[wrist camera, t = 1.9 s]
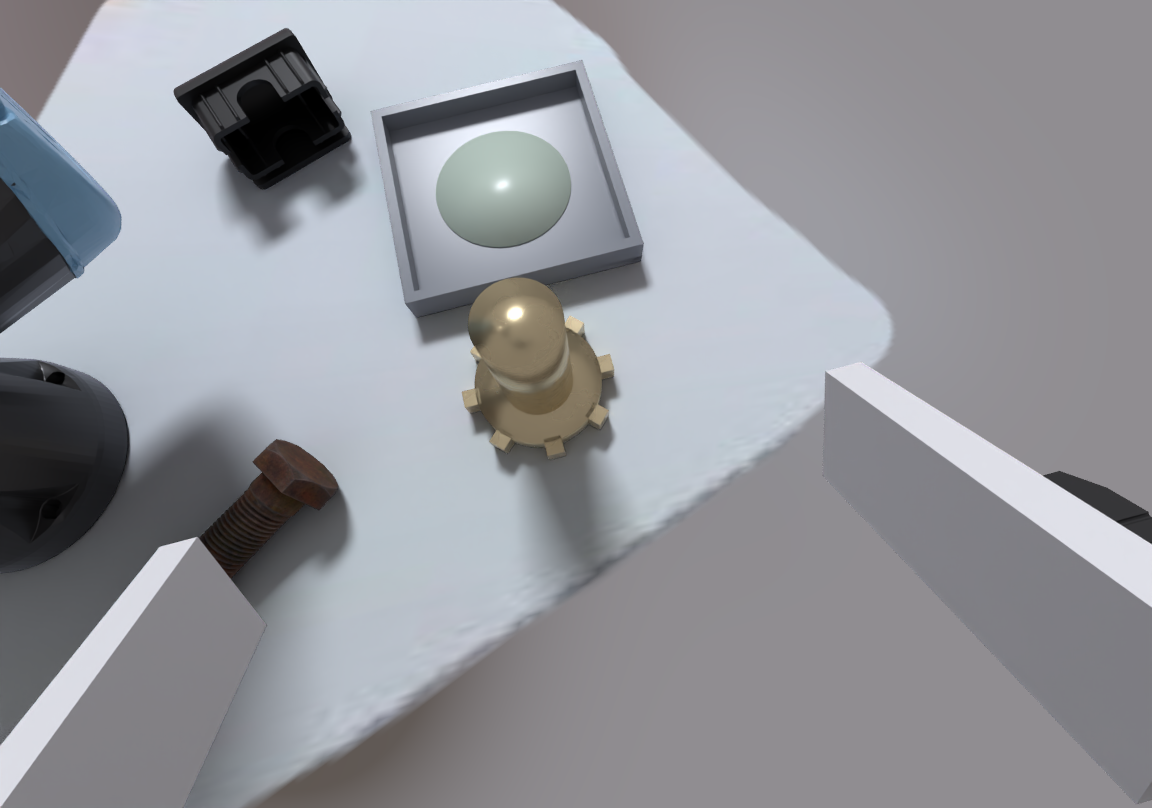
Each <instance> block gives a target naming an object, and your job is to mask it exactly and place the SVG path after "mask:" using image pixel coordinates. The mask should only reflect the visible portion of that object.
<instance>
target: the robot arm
mask: <svg viewBox="0 0 1152 808" xmlns="http://www.w3.org/2000/svg"><path fill="white" fill-rule="evenodd" d="M120 230H121V214H120V211H119V209H118V207H117V205H116V203H115V202H114V201H113V199H112V198H111V197H110V196H109V195H108V194H107V192H106V191H105V190H104V189H103V188H102V187H101V186H100V185H99V184H98V183H97V182H96V181H95V180H94V178H93V177H92V176H91V175H90V174H89V173H88V172H87V171H86V170H85V169H84V168H83V167H82V166H81V165H80V164H79V163H78V162H77V161H76V160H75V159H74V158H73V157H72V156H71V155H70V154H69V153H68V152H67V151H66V150H65V149H64V148H63V147H62V146H61V145H60V144H59V143H58V142H57V141H56V140H55V139H54V138H53V137H52V136H51V135H50V134H49V133H48V132H47V131H46V130H44V129H43V128H42V127H41V126H40V125H39V124H38V123H37V122H36V121H35V120H34V119H33V118H32V117H31V116H30V115H29V114H28V113H27V112H26V111H25V110H24V109H23V108H22V107H21V106H19V104H17V103H16V102H15V101H14V100H13V99H12V98H11V97H10V96H9V95H8V94H7V93H6V92H5V91H4V90H3V89H2V88H1V87H0V333H1V332H3V331H4V330H5V329H7V328H8V327H9V326H11V325H12V324H13V323H15V322H16V321H18V320H19V319H20V318H22V317H23V316H24V315H26V314H27V313H28V312H30V311H31V310H32V309H34V308H35V307H36V306H38V305H39V304H40V303H42V302H43V301H44V300H46V299H47V298H48V297H50V296H51V295H52V294H54V293H55V292H56V291H58V290H59V289H60V288H62V287H63V286H64V285H66V284H67V283H68V282H70V281H71V280H72V279H74V278H79V277H80V276H81V275H82V274H83V273H84V267H85V266H86V265H88V264H89V263H90V262H91V261H92V260H93V259H94V258H95V257H97V256H98V255H99V254H100V253H101V252H102V251H103V250H104V249H105V248H107V247H108V246H109V245H110V244H111V243H112V242H113V241H115V240H116V238H117V237H118V234H119V233H120ZM126 454H127V428H126V423H125V418H124V415H123V412H122V410H121V407H120V405H119V403H118V401H117V400H116V398H115V397H114V395H113V394H112V393H111V392H110V390H109V389H108V388H107V387H106V386H104V385H103V384H102V383H101V382H99V381H98V380H97V379H95V378H93V377H91V376H90V375H87V374H85V373H82V372H79V371H76V370H73V369H70V368H67V367H64V366H61V365H58V364H55V363H51V362H47V361H42V360H35V359H19V358H0V573H8V572H14V571H19V570H23V569H26V568H29V567H32V566H35V565H37V564H40V563H42V562H44V561H46V560H48V559H50V558H52V557H54V556H55V555H57V554H59V553H60V552H62V551H63V550H65V549H66V548H67V547H69V546H70V545H71V544H73V543H74V542H75V541H76V540H77V539H79V538H80V537H81V536H82V535H83V534H84V533H85V532H86V531H87V530H88V529H89V528H90V527H91V526H92V525H93V524H94V522H95V521H96V520H97V519H98V517H99V516H100V515H101V513H102V512H103V511H104V509H105V508H106V506H107V505H108V503H109V501H110V500H111V498H112V496H113V494H114V492H115V490H116V488H117V486H118V483H119V481H120V478H121V475H122V472H123V469H124V464H125V460H126ZM823 477H824V478H825V479H826V480H827V481H828V482H829V483H830V484H831V485H832V486H833V487H834V488H835V489H836V490H837V491H838V492H839V494H840V495H841V496H842V497H843V498H844V499H845V500H846V501H847V502H848V503H849V504H850V505H851V506H852V507H853V508H854V509H855V510H856V511H857V512H858V514H859V515H860V516H861V517H862V518H863V519H864V520H865V521H866V522H867V523H868V524H869V525H870V526H871V527H872V528H873V529H874V530H875V531H876V532H877V533H878V535H879V536H880V537H881V538H882V539H883V540H884V541H885V542H886V543H887V544H888V545H889V546H890V547H891V548H892V549H893V550H894V551H895V552H896V553H897V554H898V555H899V557H900V558H901V559H902V560H904V562H905V563H906V564H907V565H908V566H909V567H910V568H911V569H912V570H913V571H914V572H915V573H916V574H917V575H918V576H919V577H920V578H921V579H922V581H923V582H924V583H925V584H926V585H927V586H928V587H929V588H930V589H931V590H932V591H933V592H934V593H935V594H936V595H937V596H938V597H939V598H940V599H941V601H942V602H943V603H945V605H946V606H947V607H948V608H949V609H950V610H951V611H952V612H953V613H954V614H955V615H956V616H957V617H958V618H959V619H960V620H961V621H962V623H964V625H965V626H966V627H967V628H968V629H969V630H970V631H971V632H972V633H973V634H974V635H975V636H976V637H977V638H978V639H979V640H980V641H981V642H982V643H983V644H984V646H985V647H986V648H987V649H988V650H989V651H990V652H991V653H992V654H993V655H994V656H995V657H996V658H997V659H998V660H999V661H1000V662H1001V663H1002V664H1003V665H1004V666H1005V668H1006V669H1007V670H1008V671H1009V672H1010V673H1011V674H1012V675H1013V676H1014V677H1015V678H1016V679H1017V680H1018V681H1019V682H1020V683H1021V684H1022V685H1023V686H1024V687H1025V688H1026V690H1027V691H1028V692H1029V693H1030V694H1031V695H1032V696H1033V697H1034V698H1035V699H1036V700H1037V701H1038V702H1039V703H1040V704H1041V705H1042V706H1043V707H1044V708H1045V709H1046V710H1047V711H1048V713H1049V714H1050V715H1051V716H1052V717H1053V718H1054V719H1055V720H1056V721H1057V722H1058V723H1059V724H1060V725H1061V726H1062V727H1063V728H1064V729H1065V730H1066V731H1067V732H1068V733H1069V735H1070V736H1071V737H1072V738H1074V740H1075V741H1076V742H1077V743H1078V744H1079V745H1080V746H1081V747H1082V748H1083V749H1084V750H1085V751H1086V752H1087V753H1088V754H1089V756H1090V757H1091V758H1092V759H1093V760H1094V761H1095V762H1096V763H1097V764H1098V765H1099V766H1100V767H1101V768H1102V769H1103V770H1104V771H1105V772H1106V773H1107V774H1108V775H1109V776H1110V778H1111V779H1112V780H1113V781H1114V782H1115V783H1116V784H1117V785H1118V786H1119V787H1120V788H1121V789H1122V790H1123V791H1124V792H1125V793H1126V794H1127V795H1128V796H1129V797H1130V798H1131V799H1132V800H1133V802H1134V803H1135V804H1139V803H1143V802H1146V801H1150V800H1152V517H1150V515H1149V513H1148V511H1146V510H1144V509H1142V508H1141V507H1139V506H1137V505H1136V504H1134V503H1132V502H1130V501H1129V500H1127V499H1125V498H1123V497H1122V496H1120V495H1118V494H1116V493H1115V492H1113V491H1111V490H1110V489H1108V488H1106V487H1103V486H1100V485H1097V484H1095V483H1092V482H1089V481H1086V480H1084V479H1081V478H1078V477H1075V476H1072V475H1069V474H1066V473H1063V472H1061V471H1058V472H1054V473H1051V474H1047V475H1043V476H1042V475H1040V474H1039V473H1037V472H1036V471H1034V470H1033V469H1031V468H1029V467H1028V466H1026V465H1024V464H1023V463H1021V462H1020V461H1018V460H1016V459H1015V458H1013V457H1012V456H1010V455H1009V454H1007V453H1005V452H1004V451H1002V450H1001V449H999V448H997V447H995V446H994V445H993V444H991V443H989V442H988V441H986V440H985V439H983V438H982V437H980V436H978V435H977V434H975V433H974V432H972V431H970V430H969V429H967V428H966V427H964V426H962V425H961V424H959V423H958V422H956V421H954V420H953V419H951V418H949V417H948V416H946V415H945V414H943V413H942V412H940V411H938V410H937V409H935V408H934V407H932V406H931V405H929V404H927V403H926V402H924V401H923V400H921V399H919V398H918V397H916V396H915V395H913V394H911V393H910V392H908V391H907V390H905V389H903V388H902V387H900V386H899V385H897V384H895V383H894V382H892V381H891V380H889V379H888V378H886V377H884V376H883V375H881V374H880V373H878V372H876V371H875V370H873V369H872V368H870V367H868V366H867V365H865V364H864V363H862V362H858V363H855V364H851V365H847V366H843V367H839V368H836V369H832V370H828V371H825V404H824V443H823ZM266 626H267V625H266V623H265V622H264V621H263V620H262V618H261V617H260V616H259V614H258V613H257V612H256V611H255V609H254V608H253V607H252V606H251V604H250V603H249V602H248V600H247V599H246V598H245V597H244V595H243V594H242V593H241V592H240V590H239V589H238V588H237V586H236V585H235V584H234V583H233V581H232V580H231V579H230V578H229V576H228V575H227V574H226V572H225V571H224V570H223V569H222V567H221V566H220V565H219V564H218V562H217V561H216V560H215V559H214V557H213V556H212V555H211V553H210V552H209V551H208V550H207V548H206V547H205V546H204V545H203V543H202V542H201V541H200V539H199V538H198V537H195V538H191V539H187V540H184V541H180V542H176V543H172V544H168V545H165V546H161V547H159V548H158V550H157V551H156V552H155V553H154V555H153V556H152V557H151V558H150V560H149V561H148V562H147V563H146V565H145V566H144V567H143V568H142V570H141V571H140V572H139V573H138V575H137V576H136V577H135V578H134V580H133V581H132V582H131V583H130V585H129V586H128V587H127V588H126V590H125V591H124V592H123V593H122V595H121V596H120V597H119V598H118V600H117V601H116V602H115V603H114V605H113V606H112V607H111V608H110V610H109V611H108V612H107V613H106V615H105V616H104V617H103V618H102V619H101V621H100V622H99V623H98V624H97V626H96V627H95V628H94V629H93V631H92V632H91V633H90V634H89V636H88V637H87V638H86V639H85V641H84V642H83V643H82V644H81V646H80V647H79V648H78V649H77V651H76V652H75V653H74V654H73V656H72V657H71V658H70V659H69V661H68V662H67V663H66V664H65V666H64V667H63V668H62V669H61V671H60V672H59V673H58V674H57V676H56V677H55V678H54V679H53V681H52V682H51V683H50V684H49V686H48V687H47V688H46V689H45V691H44V692H43V693H42V694H41V696H40V697H39V698H38V699H37V701H36V702H35V703H34V704H33V706H32V707H31V708H30V709H29V711H28V712H27V713H26V714H25V716H24V717H23V718H22V719H21V721H20V722H19V723H18V724H17V726H16V727H15V728H14V729H13V731H12V732H11V733H10V734H9V736H8V737H7V738H6V739H5V741H4V742H3V743H2V744H1V746H0V808H183V807H184V805H185V803H186V801H187V798H188V796H189V794H190V792H191V790H192V788H193V785H194V783H195V781H196V779H197V777H198V774H199V772H200V770H201V768H202V766H203V763H204V761H205V759H206V757H207V755H208V753H209V750H210V748H211V746H212V744H213V742H214V739H215V737H216V735H217V733H218V731H219V729H220V726H221V724H222V722H223V720H224V718H225V715H226V713H227V711H228V709H229V707H230V705H231V702H232V700H233V698H234V696H235V694H236V691H237V689H238V687H239V685H240V683H241V680H242V678H243V676H244V674H245V672H246V670H247V667H248V665H249V663H250V661H251V659H252V656H253V654H254V652H255V650H256V648H257V646H258V643H259V641H260V639H261V637H262V635H263V632H264V630H265V628H266Z"/></svg>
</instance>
